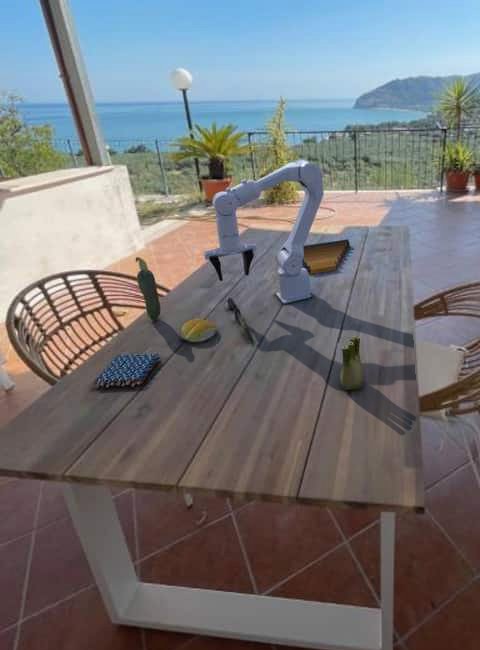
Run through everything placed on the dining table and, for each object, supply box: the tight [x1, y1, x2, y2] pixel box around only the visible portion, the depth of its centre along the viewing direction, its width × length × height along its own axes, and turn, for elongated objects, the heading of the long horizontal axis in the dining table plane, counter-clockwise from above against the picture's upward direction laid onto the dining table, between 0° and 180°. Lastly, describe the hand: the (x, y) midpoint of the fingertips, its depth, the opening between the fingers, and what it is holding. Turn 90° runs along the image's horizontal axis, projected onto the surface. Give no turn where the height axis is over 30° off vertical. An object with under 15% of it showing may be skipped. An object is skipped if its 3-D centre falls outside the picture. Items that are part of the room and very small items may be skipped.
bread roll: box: [180, 318, 217, 343], centre depth 105 cm, size 8×9×4 cm
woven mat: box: [94, 352, 161, 389], centre depth 91 cm, size 10×11×2 cm
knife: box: [227, 297, 252, 342], centre depth 111 cm, size 23×2×5 cm, turn 30°
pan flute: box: [302, 238, 351, 275], centre depth 158 cm, size 25×3×25 cm
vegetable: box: [135, 256, 161, 322], centre depth 109 cm, size 4×4×20 cm
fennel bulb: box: [339, 335, 364, 391], centre depth 85 cm, size 6×5×12 cm
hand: (234, 277), depth 117 cm, fingers open, 7 cm apart
